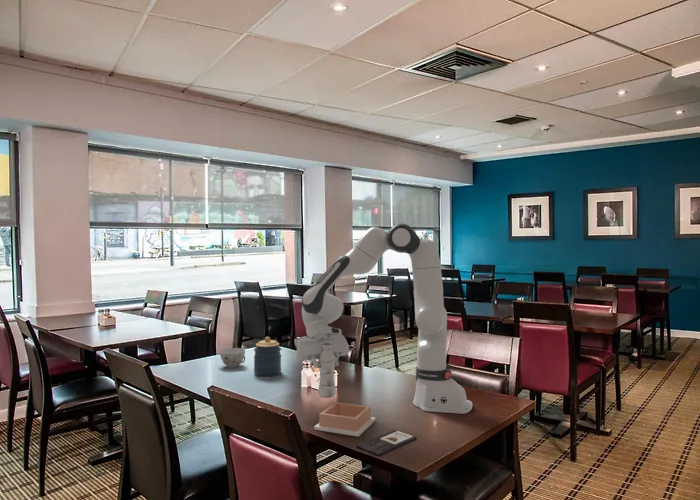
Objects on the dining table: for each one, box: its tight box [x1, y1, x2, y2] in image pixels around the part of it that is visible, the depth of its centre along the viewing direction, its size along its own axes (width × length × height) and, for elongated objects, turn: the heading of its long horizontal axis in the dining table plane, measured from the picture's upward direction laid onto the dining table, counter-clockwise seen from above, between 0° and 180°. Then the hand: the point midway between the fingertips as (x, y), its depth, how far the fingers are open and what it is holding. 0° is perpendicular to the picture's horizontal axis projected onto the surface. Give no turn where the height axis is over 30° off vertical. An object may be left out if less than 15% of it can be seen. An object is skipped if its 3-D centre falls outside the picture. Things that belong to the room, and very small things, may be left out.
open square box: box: [313, 401, 377, 438], centre depth 168 cm, size 16×16×5 cm
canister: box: [253, 336, 282, 378], centre depth 235 cm, size 13×13×18 cm
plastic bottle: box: [317, 343, 337, 399], centre depth 184 cm, size 6×7×20 cm
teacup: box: [219, 347, 246, 368], centre depth 248 cm, size 15×12×8 cm
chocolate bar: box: [356, 429, 417, 457], centre depth 152 cm, size 9×1×18 cm
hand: (327, 366), depth 183 cm, fingers closed on plastic bottle, 6 cm apart
